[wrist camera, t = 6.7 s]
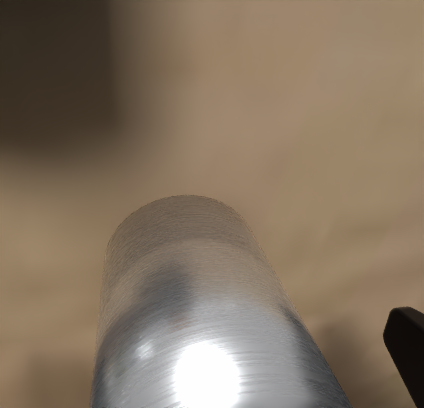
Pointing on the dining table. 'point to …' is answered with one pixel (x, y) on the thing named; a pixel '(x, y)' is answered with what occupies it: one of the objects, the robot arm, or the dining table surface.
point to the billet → (200, 318)
